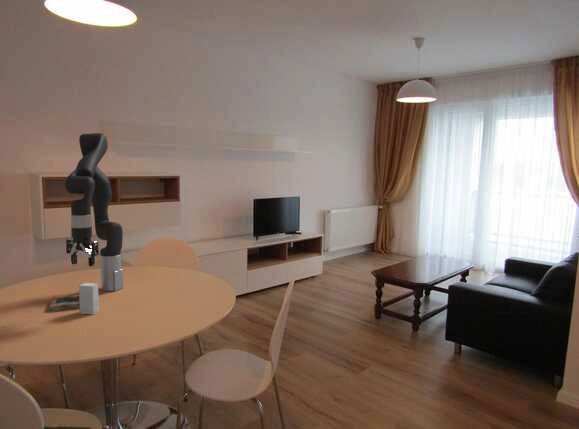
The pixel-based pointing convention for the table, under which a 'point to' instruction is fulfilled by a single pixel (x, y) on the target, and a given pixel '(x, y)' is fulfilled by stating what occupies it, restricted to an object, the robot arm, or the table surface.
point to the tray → (65, 303)
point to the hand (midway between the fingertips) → (82, 265)
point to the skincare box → (89, 298)
